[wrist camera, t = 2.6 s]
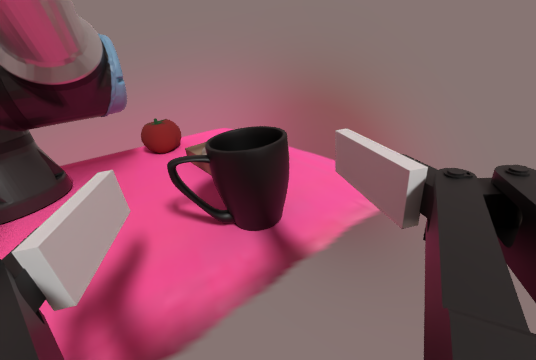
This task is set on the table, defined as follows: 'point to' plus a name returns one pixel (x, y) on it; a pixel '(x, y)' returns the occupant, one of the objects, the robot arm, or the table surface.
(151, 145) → the tomato
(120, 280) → the table surface
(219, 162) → the mug
